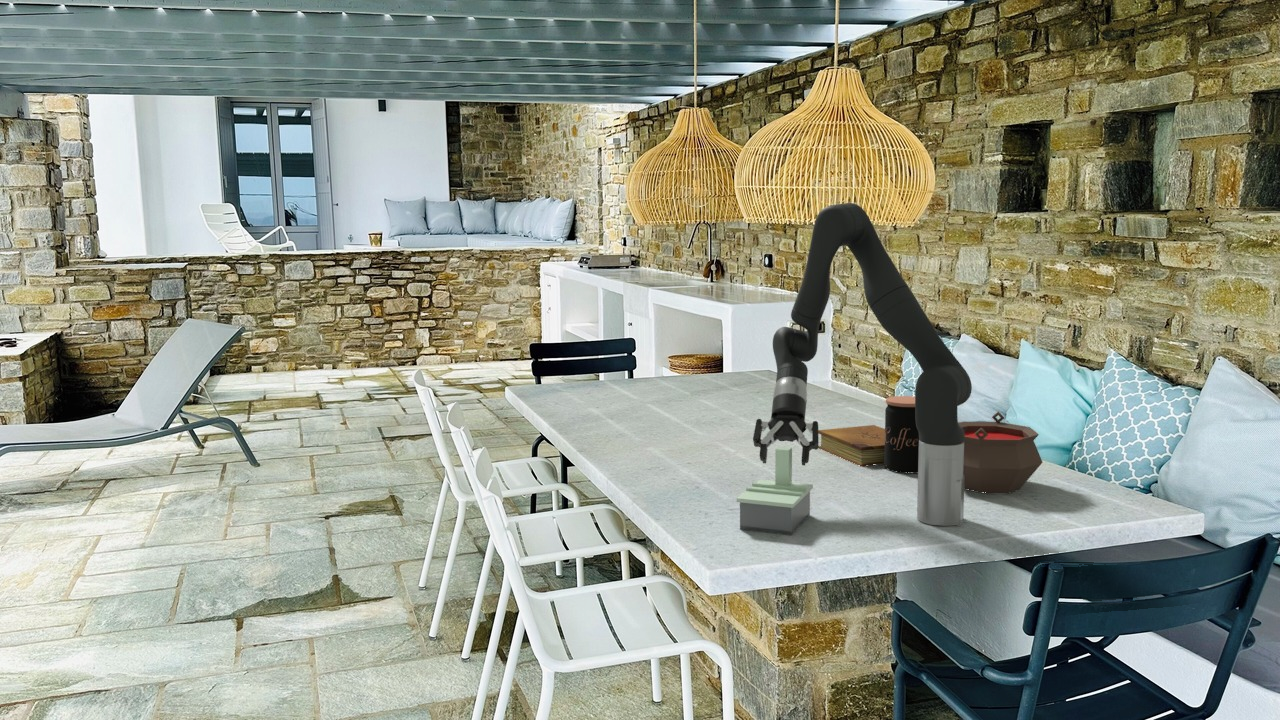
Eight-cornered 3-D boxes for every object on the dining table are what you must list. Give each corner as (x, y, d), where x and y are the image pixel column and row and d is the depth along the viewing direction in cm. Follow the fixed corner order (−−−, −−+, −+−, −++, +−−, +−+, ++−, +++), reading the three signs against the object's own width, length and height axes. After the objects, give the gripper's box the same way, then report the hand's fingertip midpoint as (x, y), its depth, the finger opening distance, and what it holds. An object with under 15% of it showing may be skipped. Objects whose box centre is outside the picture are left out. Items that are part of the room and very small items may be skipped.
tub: (809, 515, 220) (810, 488, 220) (791, 535, 207) (791, 506, 206) (761, 510, 225) (761, 483, 224) (740, 529, 211) (739, 501, 210)
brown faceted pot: (1033, 505, 225) (1036, 433, 223) (925, 492, 237) (926, 424, 235) (1048, 480, 246) (1051, 414, 244) (948, 469, 258) (949, 406, 256)
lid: (812, 488, 220) (813, 448, 219) (793, 507, 205) (793, 465, 204) (759, 483, 225) (759, 444, 223) (736, 501, 210) (736, 460, 209)
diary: (922, 462, 268) (923, 441, 267) (860, 469, 262) (861, 447, 261) (875, 443, 290) (876, 424, 289) (817, 449, 284) (818, 429, 283)
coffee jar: (876, 469, 259) (877, 400, 257) (898, 461, 267) (899, 394, 264) (913, 476, 252) (914, 405, 249) (935, 468, 259) (936, 399, 257)
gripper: (756, 391, 228) (749, 452, 219) (820, 392, 225) (815, 455, 215) (759, 409, 234) (752, 469, 225) (822, 411, 231) (817, 473, 221)
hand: (783, 462), depth 220 cm, fingers open, 8 cm apart
